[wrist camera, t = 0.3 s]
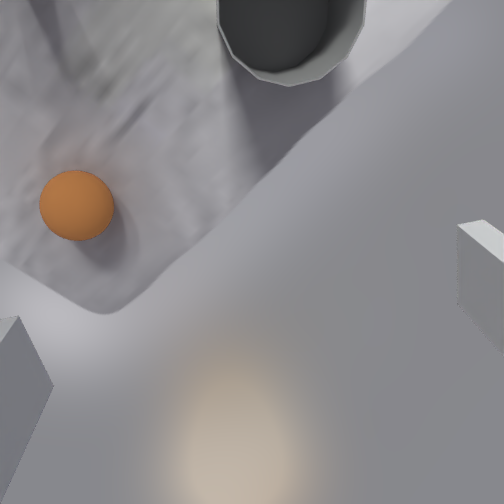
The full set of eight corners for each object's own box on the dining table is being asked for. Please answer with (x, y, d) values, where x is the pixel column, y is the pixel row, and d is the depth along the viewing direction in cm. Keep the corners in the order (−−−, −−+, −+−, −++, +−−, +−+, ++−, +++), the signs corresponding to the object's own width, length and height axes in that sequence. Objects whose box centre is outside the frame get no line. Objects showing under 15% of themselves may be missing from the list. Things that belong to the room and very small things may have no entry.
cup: (261, 94, 37) (276, 115, 28) (192, 2, 34) (183, -8, 25) (350, 21, 35) (395, 18, 26) (285, -84, 32) (311, -128, 23)
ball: (38, 181, 39) (12, 203, 34) (95, 151, 38) (77, 169, 33) (78, 235, 41) (59, 263, 36) (132, 207, 40) (120, 232, 35)
